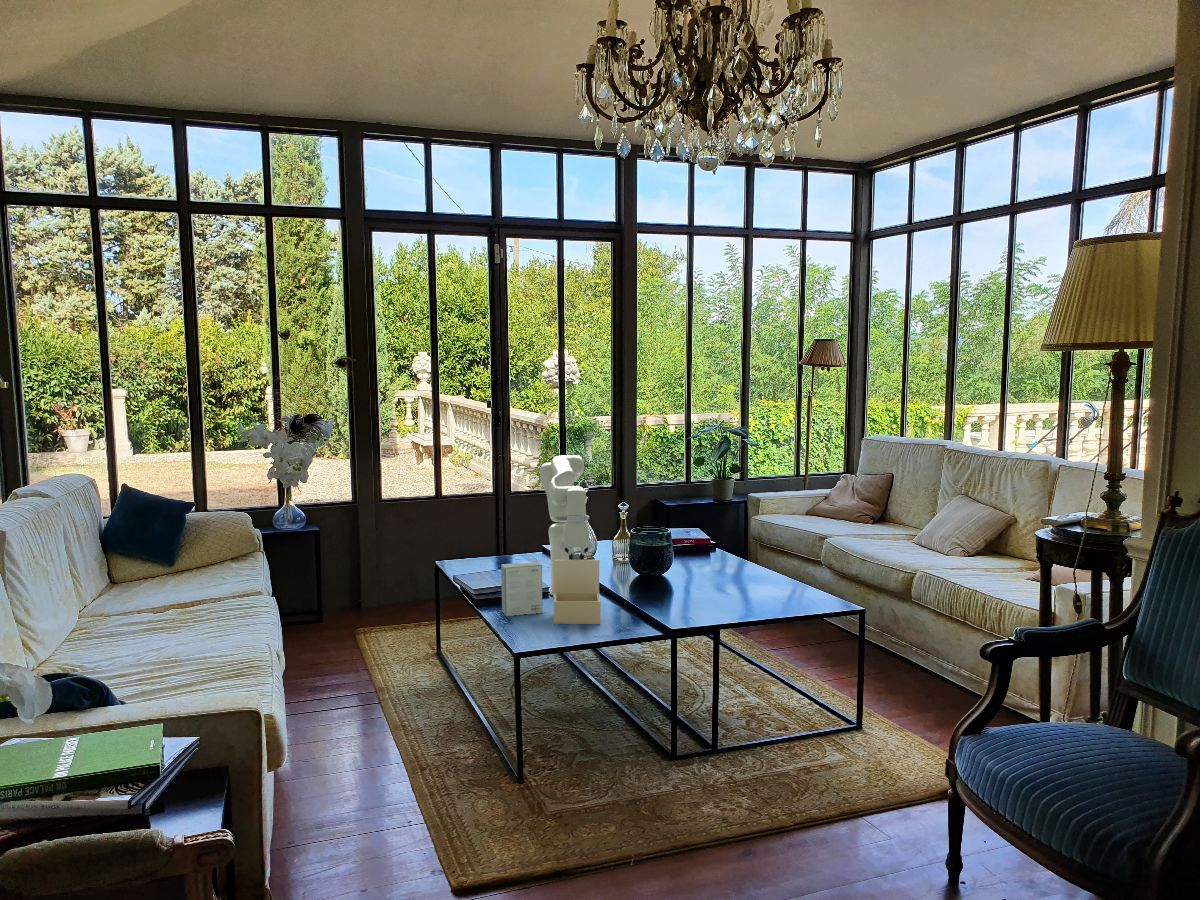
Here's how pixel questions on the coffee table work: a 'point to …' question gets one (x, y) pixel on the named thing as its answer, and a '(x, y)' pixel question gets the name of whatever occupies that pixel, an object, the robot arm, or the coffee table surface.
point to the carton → (577, 608)
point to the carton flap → (576, 576)
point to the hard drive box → (521, 588)
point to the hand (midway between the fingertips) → (576, 563)
